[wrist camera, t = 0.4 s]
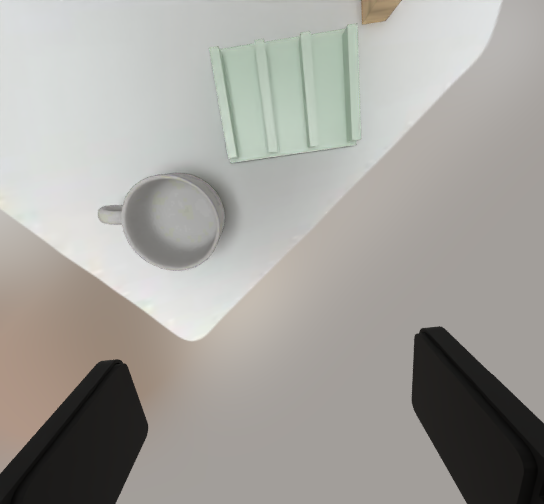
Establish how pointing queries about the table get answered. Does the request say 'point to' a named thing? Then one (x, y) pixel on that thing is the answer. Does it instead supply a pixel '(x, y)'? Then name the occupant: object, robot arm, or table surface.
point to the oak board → (377, 10)
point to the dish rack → (289, 94)
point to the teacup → (170, 220)
